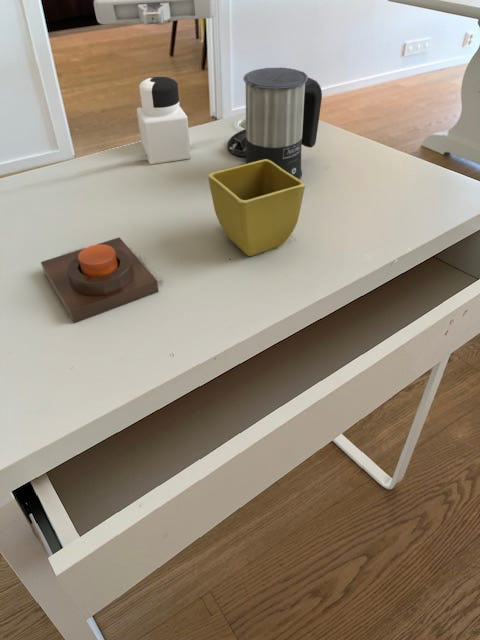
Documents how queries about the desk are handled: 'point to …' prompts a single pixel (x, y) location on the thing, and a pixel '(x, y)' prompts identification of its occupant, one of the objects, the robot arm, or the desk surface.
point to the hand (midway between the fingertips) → (152, 18)
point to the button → (97, 260)
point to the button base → (99, 282)
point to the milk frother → (278, 118)
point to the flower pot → (256, 204)
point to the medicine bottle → (162, 121)
